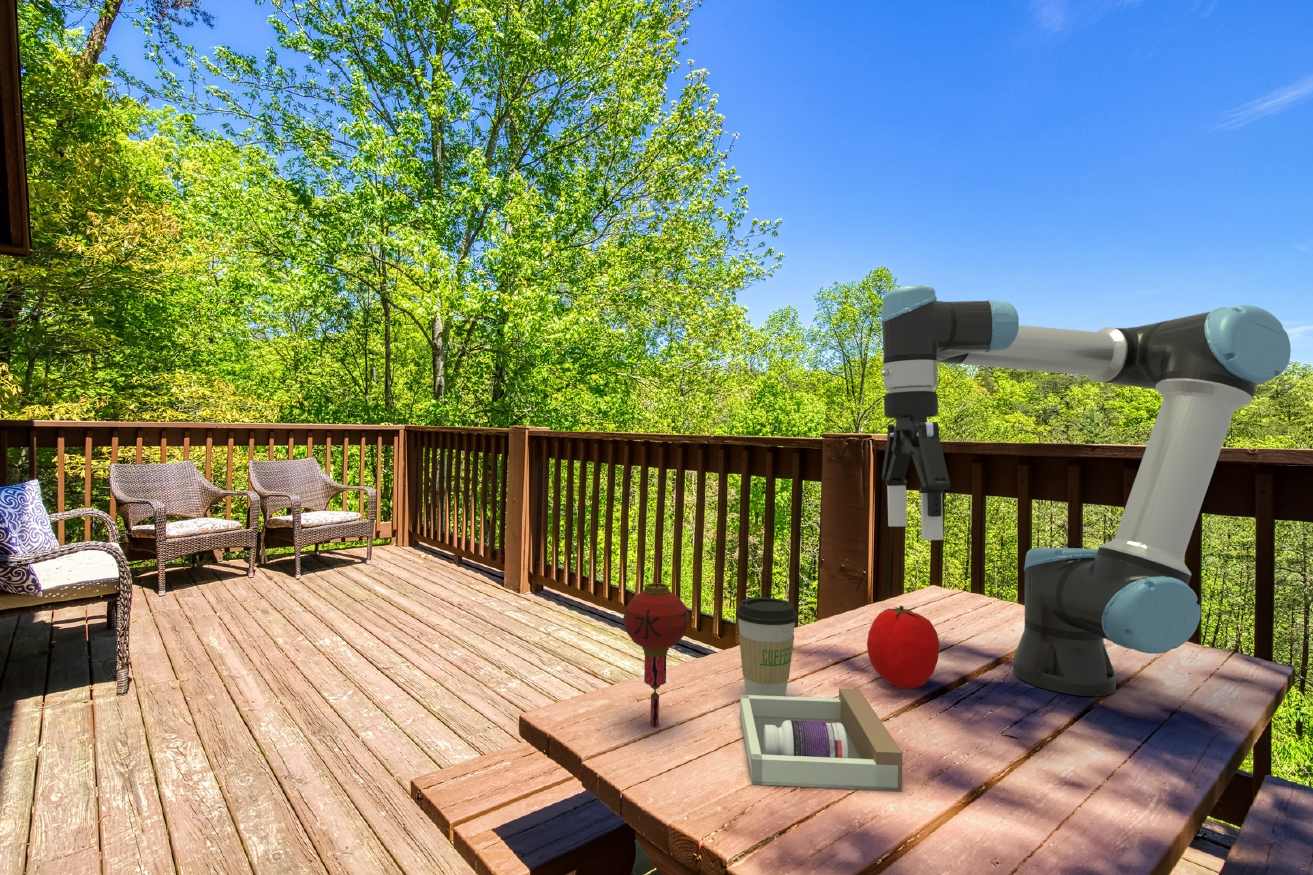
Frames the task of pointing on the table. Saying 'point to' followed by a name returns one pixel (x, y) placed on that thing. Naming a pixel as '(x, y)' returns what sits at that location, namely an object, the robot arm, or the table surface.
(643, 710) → the table surface
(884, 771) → the tray
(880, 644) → the tomato
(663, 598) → the lantern
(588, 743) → the table surface
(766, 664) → the coffee cup
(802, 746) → the pill bottle
